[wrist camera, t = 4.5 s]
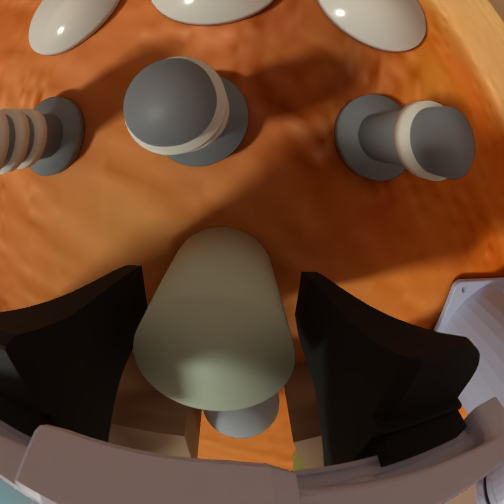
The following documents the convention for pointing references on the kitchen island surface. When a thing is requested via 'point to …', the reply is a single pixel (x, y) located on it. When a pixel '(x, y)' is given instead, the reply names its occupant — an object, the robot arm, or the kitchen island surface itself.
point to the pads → (231, 20)
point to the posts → (239, 127)
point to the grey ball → (245, 419)
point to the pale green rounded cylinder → (216, 325)
